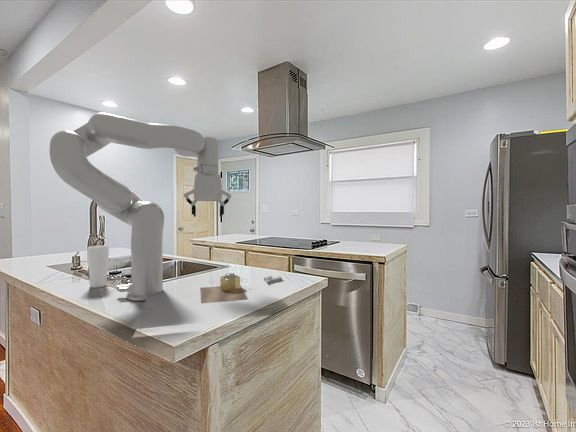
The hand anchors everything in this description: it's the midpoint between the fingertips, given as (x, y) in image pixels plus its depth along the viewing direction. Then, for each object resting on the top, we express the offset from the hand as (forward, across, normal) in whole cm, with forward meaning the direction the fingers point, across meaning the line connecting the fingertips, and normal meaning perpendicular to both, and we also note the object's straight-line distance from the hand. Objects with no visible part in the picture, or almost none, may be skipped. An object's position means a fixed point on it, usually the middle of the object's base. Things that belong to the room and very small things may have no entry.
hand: (208, 216), depth 114 cm
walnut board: (+26, +4, -17) cm, 32 cm away
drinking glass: (+26, -39, +10) cm, 48 cm away
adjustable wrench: (+27, +20, -5) cm, 34 cm away
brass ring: (+25, +7, -12) cm, 28 cm away
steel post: (+25, +7, -12) cm, 28 cm away
